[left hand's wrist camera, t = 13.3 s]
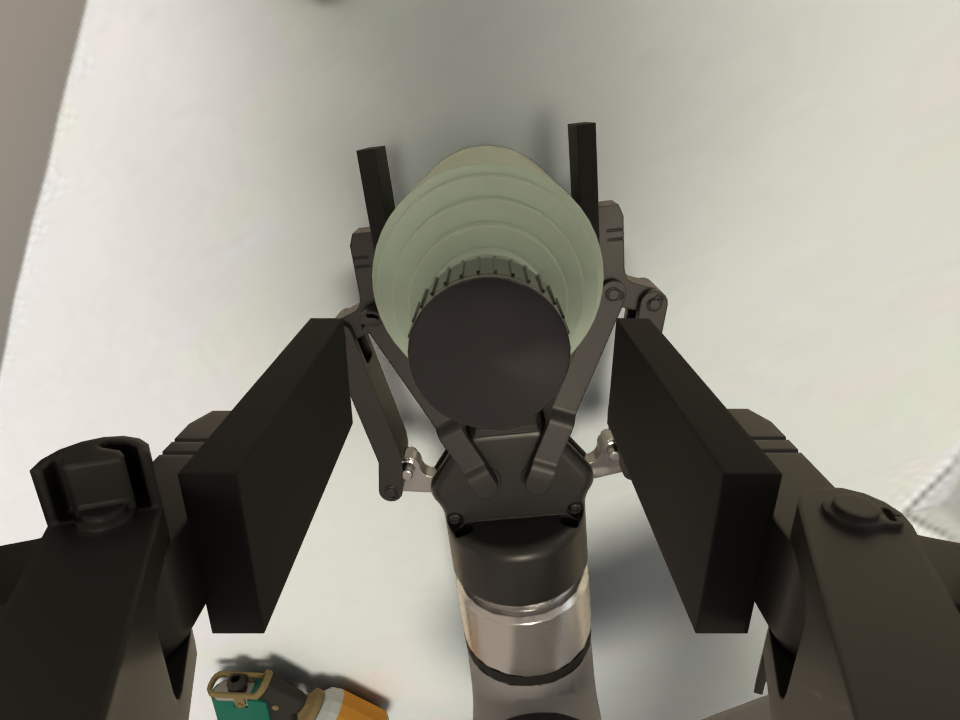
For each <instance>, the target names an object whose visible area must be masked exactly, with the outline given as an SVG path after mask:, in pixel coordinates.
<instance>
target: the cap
mask: <svg viewBox="0 0 960 720" xmlns="http://www.w3.org/2000/svg"><path fill="white" fill-rule="evenodd" d="M564 318H565V316H564V314H563V311H562V309H561V306H560V304H559V301H558V299H557V298H555V297H554V294H553V292H552V289H551V287H550V285H548V286H547V285H546V284H545V283H544V282H543V281H542V279H541V276H540V275H539V274H537V275H536V274H535V273H533V272H532V271H531V270H529V269H528V267H527V266H526V265H524V266H522V265H520V264H517V263H515V262H513V260H512V259H509V260H505V259H498V258H497V257H496V256H493V258H480V257H477V259H473V260H469V261H464V260H463V261H461V263H460V264H458V265H456V266H454V267H452V268H450V267H448V268H447V270H446V272H444V273H443V274H442V275H440V276H439V277H437V276H436V277H435V278H434V281H433V283H432V285H431V286H430V287H429V288H428V289H427V288H426V289H425V291H424V294H423V297H422V299H421V302H418V305H417V308H416V311H415V313H414V316H413V319H412V325H411V328H410V331H409V334H408V338H409V341H408V350H407V353H408V363H409V369H410V372H411V375H412V378H413V381H414V383H415V385H416V387H417V389H418V390H419V392H420V393H421V395H422V396H423V397H424V398H425V400H426V401H427V402H428V403H429V404H430V405H431V406H432V407H433V408H434V409H436V410H437V411H438V412H440V413H441V414H443V415H444V416H446V417H448V418H449V419H451V420H453V421H456V422H458V423H461V424H464V425H468V426H472V427H479V428H498V427H505V426H510V425H514V424H517V423H519V422H522V421H524V420H526V419H528V418H531V417H532V416H534V415H535V414H537V413H538V412H540V411H541V410H542V409H543V408H545V407H546V406H547V405H548V404H549V403H550V402H551V401H552V400H553V399H554V397H555V396H556V395H557V393H558V392H559V390H560V389H561V387H562V385H563V383H564V381H565V378H566V376H567V373H568V369H569V364H570V355H571V346H570V340H569V335H568V334H570V332H569V329H568V326H567V324H566V321H565V319H564Z"/></svg>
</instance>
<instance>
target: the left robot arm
mask: <svg viewBox="0 0 960 720" xmlns="http://www.w3.org/2000/svg"><path fill="white" fill-rule="evenodd" d="M352 424H353V420H352V409H351V398H350V387H349V376H348V364H347V353H346V342H345V331H344V320H343V318H311V319H310V320H309V321H308V322H307V323H306V324H305V326H304V327H303V328H302V329H301V330H300V331H299V333H298V334H297V335H296V336H295V337H294V338H293V340H292V341H291V342H290V343H289V344H288V345H287V347H286V348H285V349H284V350H283V351H282V352H281V354H280V355H279V356H278V357H277V358H276V359H275V361H274V362H273V363H272V364H271V365H270V367H269V368H268V369H267V370H266V371H265V372H264V374H263V375H262V376H261V377H260V378H259V379H258V381H257V382H256V383H255V384H254V385H253V386H252V388H251V389H250V390H249V391H248V392H247V393H246V395H245V396H244V397H243V398H242V399H241V400H240V402H239V403H238V404H237V405H236V406H235V407H234V409H233V410H232V411H212V412H210V413H208V414H206V415H204V416H203V417H201V418H199V419H197V420H195V421H194V422H192V423H190V424H189V425H188V426H187V427H186V428H185V429H184V430H183V431H182V432H181V433H180V434H179V435H178V436H177V437H176V438H175V442H171V443H170V445H169V446H168V447H167V448H166V449H165V450H164V451H163V454H162V455H159V456H158V457H157V458H156V459H155V460H154V461H152V457H151V453H150V448H149V444H147V443H146V442H144V441H143V440H141V439H139V438H133V437H127V436H116V437H102V438H97V439H93V440H88V441H83V442H80V443H77V444H74V445H71V446H68V447H66V448H63V449H60V450H58V451H56V452H54V453H53V454H51V455H49V456H47V457H45V458H44V459H42V460H40V461H39V462H38V463H37V464H36V465H35V466H34V467H33V468H32V469H31V470H30V473H31V476H32V480H33V483H34V486H35V489H36V492H37V495H38V498H39V501H40V504H41V507H42V510H43V513H44V516H45V519H46V522H47V525H48V527H47V529H46V531H45V533H44V534H43V536H42V538H39V539H35V540H30V541H24V542H19V543H14V544H8V545H3V546H0V720H188V719H189V712H190V704H191V696H192V688H193V680H194V672H195V665H196V657H197V651H196V644H195V639H194V635H193V631H192V627H193V625H194V624H195V622H196V620H197V618H198V616H199V615H200V613H201V611H202V609H203V608H204V606H205V604H206V606H207V610H208V615H209V620H210V624H211V629H212V633H264V632H265V630H266V628H267V625H268V623H269V621H270V618H271V616H272V613H273V611H274V609H275V606H276V604H277V602H278V599H279V597H280V594H281V592H282V590H283V587H284V585H285V583H286V580H287V578H288V575H289V573H290V571H291V568H292V566H293V564H294V561H295V559H296V556H297V554H298V552H299V549H300V547H301V545H302V542H303V540H304V537H305V535H306V533H307V530H308V528H309V526H310V523H311V521H312V518H313V516H314V514H315V511H316V509H317V507H318V504H319V502H320V499H321V497H322V495H323V492H324V490H325V488H326V485H327V483H328V480H329V478H330V476H331V473H332V471H333V469H334V466H335V464H336V461H337V459H338V457H339V454H340V452H341V450H342V447H343V445H344V442H345V440H346V438H347V435H348V433H349V431H350V428H351V426H352ZM607 424H608V426H609V428H610V431H611V433H612V435H613V438H614V440H615V443H616V445H617V447H618V450H619V452H620V454H621V457H622V459H623V461H624V464H625V466H626V469H627V471H628V473H629V476H630V478H631V480H632V483H633V485H634V488H635V490H636V492H637V495H638V497H639V499H640V502H641V504H642V507H643V509H644V511H645V514H646V516H647V518H648V521H649V523H650V526H651V528H652V530H653V533H654V535H655V537H656V540H657V542H658V545H659V547H660V549H661V552H662V554H663V556H664V559H665V561H666V564H667V566H668V568H669V571H670V573H671V575H672V578H673V580H674V583H675V585H676V587H677V590H678V592H679V594H680V597H681V599H682V602H683V604H684V606H685V609H686V611H687V613H688V616H689V618H690V621H691V623H692V625H693V628H694V630H695V632H696V633H748V629H749V624H750V620H751V615H752V610H753V606H754V601H755V603H756V605H757V606H758V608H759V610H760V612H761V613H762V615H763V617H764V619H765V620H766V622H767V624H768V631H767V635H766V639H765V643H764V648H763V652H762V656H761V660H760V665H759V669H758V673H757V677H756V682H755V688H754V693H758V694H763V690H764V686H765V682H766V681H767V687H768V694H769V702H770V710H771V718H772V720H960V543H956V542H951V541H945V540H940V539H935V538H929V537H924V536H920V535H917V533H916V531H915V529H914V528H913V526H912V525H911V523H910V522H909V521H908V520H907V519H906V518H905V516H904V515H903V514H902V513H900V512H899V511H897V510H896V509H894V508H893V507H891V506H890V505H888V504H887V503H885V502H883V501H881V500H878V499H876V498H874V497H871V496H869V495H867V494H864V493H860V492H856V491H852V490H848V489H844V488H835V487H834V486H833V485H832V484H831V483H830V482H829V481H828V480H827V479H826V478H825V477H824V476H823V475H822V474H821V473H820V472H819V471H818V470H817V469H816V468H815V467H814V466H813V465H812V464H811V463H810V462H809V460H808V459H807V458H806V457H805V456H804V455H803V454H802V453H798V449H797V448H796V447H795V446H794V445H793V444H792V443H791V442H790V441H789V440H786V437H785V436H784V435H783V434H782V433H781V432H780V430H779V429H778V428H777V427H776V426H775V425H774V424H773V423H772V422H771V421H769V420H767V419H765V418H763V417H761V416H760V415H758V414H756V413H754V412H752V411H750V410H749V409H726V407H725V406H724V405H723V404H722V403H721V402H720V400H719V399H718V398H717V397H716V396H715V395H714V393H713V392H712V391H711V390H710V389H709V388H708V386H707V385H706V384H705V383H704V382H703V381H702V379H701V378H700V377H699V376H698V375H697V374H696V372H695V371H694V370H693V369H692V368H691V367H690V365H689V364H688V363H687V362H686V361H685V359H684V358H683V357H682V356H681V355H680V354H679V352H678V351H677V350H676V349H675V348H674V347H673V345H672V344H671V343H670V342H669V341H668V340H667V338H666V337H665V336H664V335H663V334H662V333H661V331H660V330H659V329H658V328H657V327H656V326H655V324H654V323H653V322H652V321H651V320H650V319H649V318H617V320H616V331H615V342H614V353H613V364H612V376H611V387H610V398H609V409H608V420H607Z"/></svg>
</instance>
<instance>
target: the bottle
mask: <svg viewBox="0 0 960 720" xmlns="http://www.w3.org/2000/svg"><path fill="white" fill-rule="evenodd" d="M493 256H496V257H497V258H498V259H505V260H509V259H512V260H513V262H515V263H517V264H520V265H522V266H524V265H526V266H527V267H528V269H529V270H531V271H532V272H533V273H535V274H536V275H537V274H539V275H540V276H541V279H542V281H543V282H544V283H545V284H546V285H547V286H548V285H550V287H551V289H552V292H553V294H554V297H555V298H557V299H558V301H559V304H560V306H561V309H562V311H563V314H564V316H565V318H564V319H565V321H566V324H567V326H568V329H569V332H570V334H568V335H569V340H570V346H571V354H572V353H573V352H574V350H575V349H576V348H577V347H578V346H579V344H580V343H581V341H582V340H583V339H584V337H585V336H586V334H587V333H588V331H589V329H590V327H591V325H592V323H593V321H594V319H595V316H596V314H597V311H598V308H599V305H600V300H601V296H602V290H603V279H604V275H603V260H602V255H601V249H600V246H599V243H598V240H597V236H596V233H595V231H594V229H593V227H592V225H591V223H590V221H589V219H588V218H587V216H586V215H585V213H584V212H583V210H582V209H581V207H580V206H579V205H578V204H577V203H576V202H575V201H574V200H573V198H572V197H571V196H570V195H569V194H568V193H567V192H566V191H565V190H563V189H562V188H561V187H560V186H559V185H558V184H557V183H556V182H555V181H554V180H553V179H552V178H551V177H549V176H548V175H547V174H546V173H545V172H544V171H543V170H542V169H541V168H540V167H539V166H538V165H536V164H535V163H534V162H533V161H532V160H530V159H529V158H527V157H526V156H524V155H522V154H520V153H518V152H516V151H514V150H511V149H508V148H504V147H499V146H488V145H482V146H475V147H470V148H466V149H463V150H460V151H458V152H456V153H453V154H452V155H450V156H448V157H447V158H445V159H444V160H442V161H441V162H440V163H439V164H437V165H436V166H435V167H434V168H433V169H432V170H431V171H430V172H429V173H428V174H427V175H426V176H425V177H424V178H423V179H422V180H421V181H420V183H419V184H418V185H417V186H416V187H415V188H414V189H413V190H412V191H411V192H410V193H409V194H408V195H407V196H406V197H405V198H404V199H403V200H402V201H401V202H400V203H399V204H398V205H397V207H396V208H395V210H394V211H393V212H392V214H391V215H390V217H389V218H388V220H387V222H386V224H385V226H384V228H383V230H382V232H381V234H380V237H379V240H378V243H377V246H376V250H375V255H374V260H373V272H372V279H373V292H374V297H375V302H376V306H377V309H378V312H379V315H380V318H381V320H382V322H383V324H384V326H385V328H386V330H387V332H388V333H389V335H390V336H391V338H392V339H393V341H394V342H395V344H396V345H397V346H398V347H399V348H400V349H401V351H402V352H403V353H404V354H405V355H406V356H407V358H408V353H407V350H408V341H409V338H408V334H409V331H410V328H411V325H412V319H413V316H414V313H415V311H416V308H417V305H418V302H421V299H422V297H423V294H424V291H425V289H426V288H427V289H428V288H429V287H430V286H431V285H432V283H433V281H434V278H435V277H436V276H437V277H439V276H440V275H442V274H443V273H444V272H446V270H447V268H448V267H450V268H452V267H454V266H456V265H458V264H460V263H461V261H463V260H464V261H469V260H473V259H477V257H480V258H493Z"/></svg>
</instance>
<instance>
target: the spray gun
mask: <svg viewBox="0 0 960 720" xmlns="http://www.w3.org/2000/svg"><path fill="white" fill-rule="evenodd" d="M272 675H273V671H271V670H269V669H267V670H266V671H265V672H264V673H257V672H239V671H219V672H218V673H216V674H214V676H213V677H212V678H211V680H210V682H209V684H208V687H207V691H208V694H209V696H211V698H212V701H213V705H214V708H215V712H216V715H217V719H218V720H389V717H388V714H387V712H386V711H385V710H383V709H381V708H379V707H377V706H375V705H373V704H371V703H369V702H367V701H365V700H363V699H361V698H359V697H358V696H356V695H354V694H352V693H350V692H348V691H346V690H344V689H341V688H335V687H331V688H329V689H327V690H325V691H323V690H322V689H320V688H315V689H314V690H313V691H312V692H311V693H309V694H307V695H306V694H305V693H303V692H302V691H301V690H299V689H297V688H296V687H294V686H292V685H291V684H289V683H287V682H286V681H284V680H283V679H281V678H279V677H278V676H276V675H273V676H272ZM221 677H230V678H229V679H228V680H225V681H222V682H221V683H219V684H217V685H216V686H215V687H214V688H213V686H214V684H215V682H216V681H217V680H218V679H219V678H221ZM254 678H260V679H257V680H256V682H254ZM261 679H263V681H262V680H261ZM212 688H213V690H212Z"/></svg>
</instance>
